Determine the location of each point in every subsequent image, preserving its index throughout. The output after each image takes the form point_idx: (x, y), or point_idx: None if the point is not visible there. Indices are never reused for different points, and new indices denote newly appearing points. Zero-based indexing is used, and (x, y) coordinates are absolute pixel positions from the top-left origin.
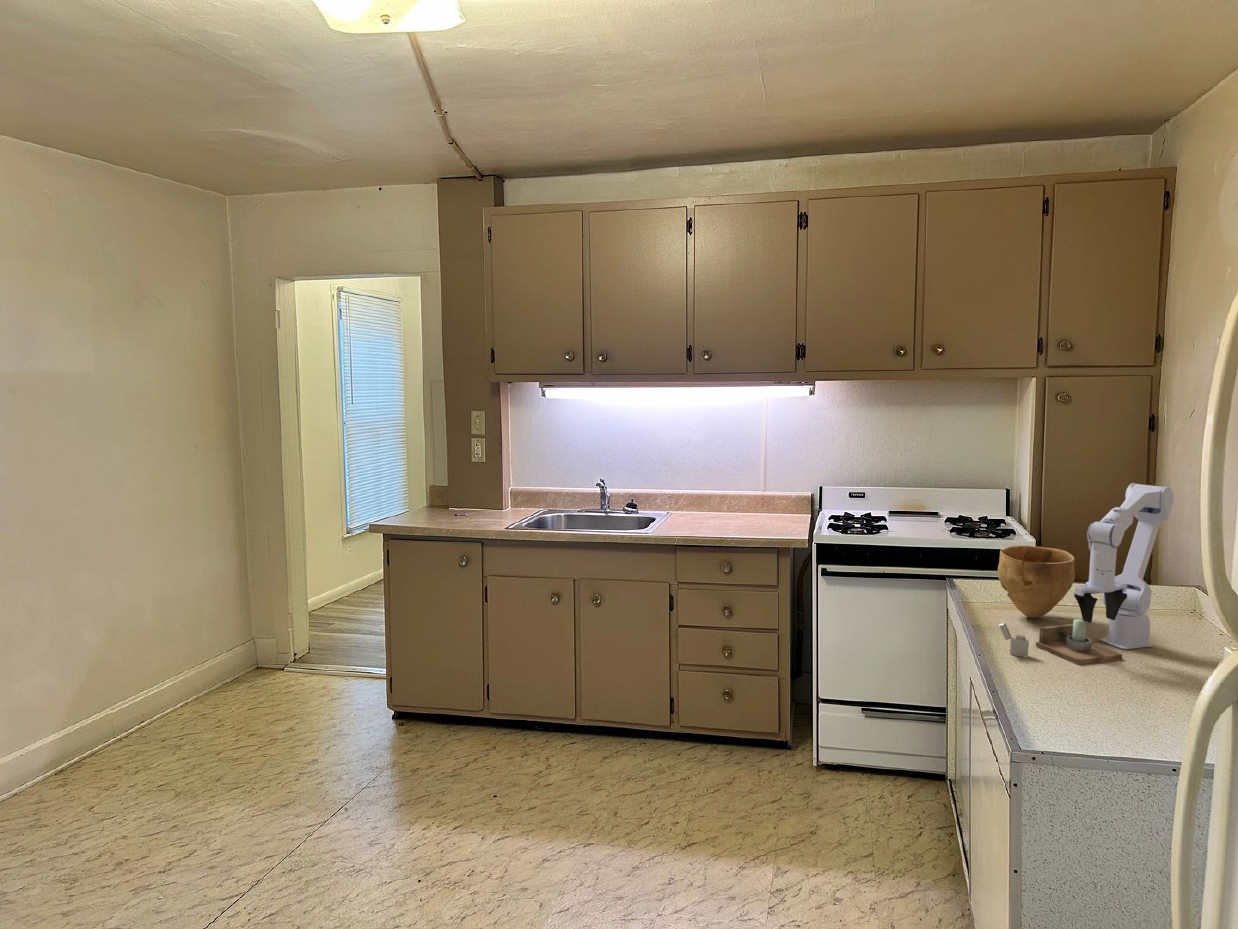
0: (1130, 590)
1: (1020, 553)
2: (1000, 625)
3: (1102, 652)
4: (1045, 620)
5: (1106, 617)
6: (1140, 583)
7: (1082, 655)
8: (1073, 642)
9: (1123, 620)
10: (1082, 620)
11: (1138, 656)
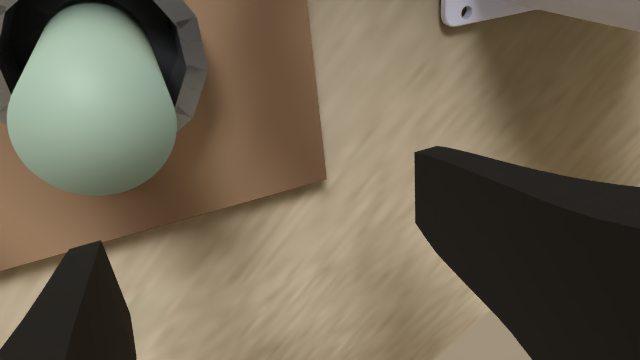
0: None
1: None
2: None
3: (231, 142)
4: None
5: (417, 153)
6: None
7: (43, 198)
8: (6, 120)
9: (616, 3)
10: (143, 110)
11: (433, 125)
